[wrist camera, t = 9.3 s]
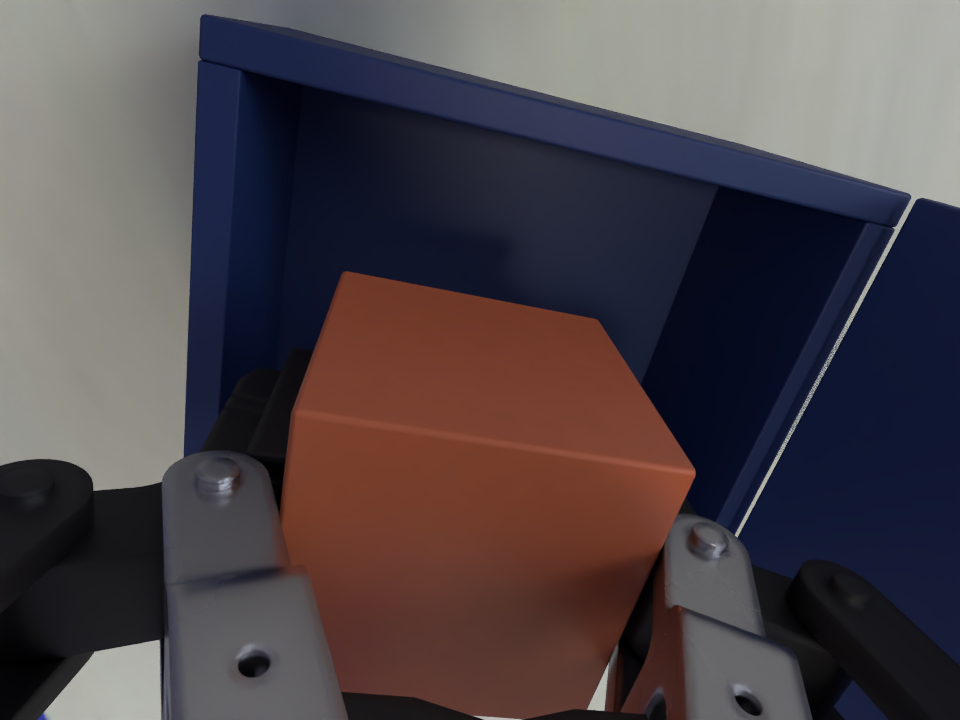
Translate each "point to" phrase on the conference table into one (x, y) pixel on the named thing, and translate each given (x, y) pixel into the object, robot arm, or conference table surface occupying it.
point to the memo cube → (474, 497)
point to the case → (518, 233)
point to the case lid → (883, 446)
